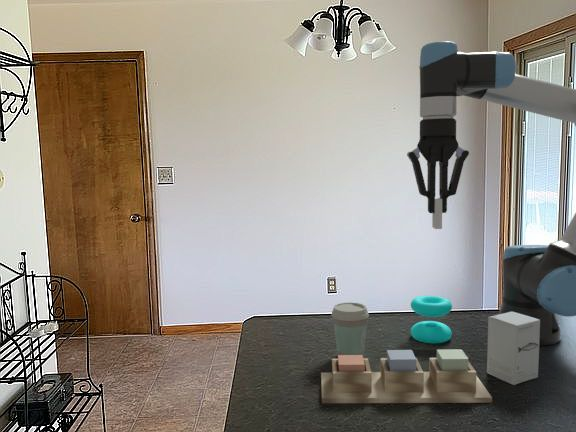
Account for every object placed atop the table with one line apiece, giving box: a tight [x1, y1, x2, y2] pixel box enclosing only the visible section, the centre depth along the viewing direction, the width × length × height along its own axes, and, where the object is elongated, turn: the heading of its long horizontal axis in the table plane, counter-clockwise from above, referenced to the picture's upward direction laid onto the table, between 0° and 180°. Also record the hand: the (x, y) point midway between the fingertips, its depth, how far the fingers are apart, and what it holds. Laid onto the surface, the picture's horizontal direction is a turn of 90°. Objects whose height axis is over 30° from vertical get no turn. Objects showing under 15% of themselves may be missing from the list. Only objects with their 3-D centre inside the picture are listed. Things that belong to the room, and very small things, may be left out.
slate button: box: [386, 349, 417, 371], centre depth 109 cm, size 5×5×4 cm
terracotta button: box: [337, 354, 365, 372], centre depth 110 cm, size 5×5×4 cm
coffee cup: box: [331, 301, 370, 356], centre depth 126 cm, size 8×8×12 cm
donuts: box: [410, 295, 453, 344], centre depth 137 cm, size 10×10×10 cm
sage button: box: [436, 348, 470, 371], centre depth 109 cm, size 5×5×4 cm
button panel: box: [320, 357, 493, 404], centre depth 110 cm, size 32×12×5 cm, turn 87°
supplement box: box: [486, 312, 540, 386], centre depth 114 cm, size 7×7×13 cm
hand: (437, 227), depth 119 cm, fingers closed
